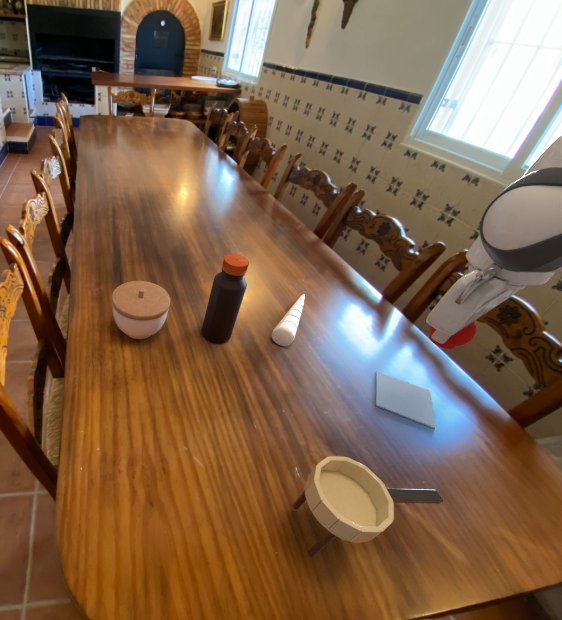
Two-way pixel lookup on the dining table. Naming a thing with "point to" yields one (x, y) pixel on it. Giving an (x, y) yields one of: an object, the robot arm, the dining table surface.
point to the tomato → (456, 337)
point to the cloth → (404, 399)
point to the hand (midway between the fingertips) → (448, 333)
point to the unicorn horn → (288, 324)
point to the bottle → (225, 299)
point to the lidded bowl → (140, 308)
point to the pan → (353, 501)
